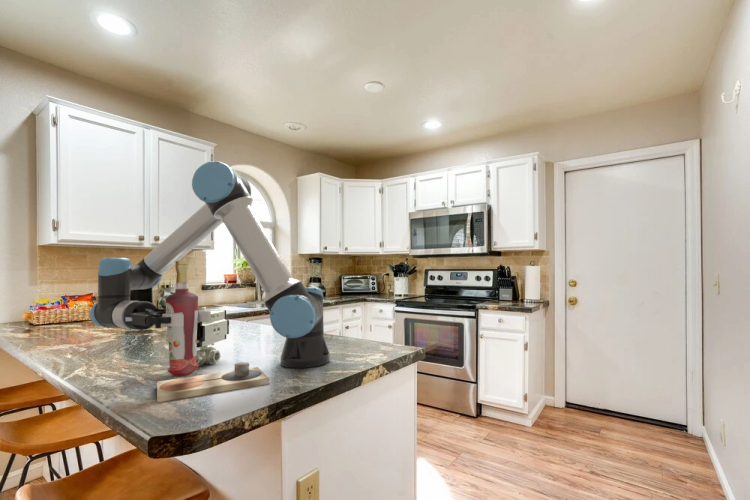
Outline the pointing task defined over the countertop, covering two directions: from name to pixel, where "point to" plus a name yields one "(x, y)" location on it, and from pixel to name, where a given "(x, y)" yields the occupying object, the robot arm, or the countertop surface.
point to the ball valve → (211, 336)
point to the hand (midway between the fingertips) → (196, 318)
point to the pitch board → (211, 383)
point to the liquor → (185, 336)
